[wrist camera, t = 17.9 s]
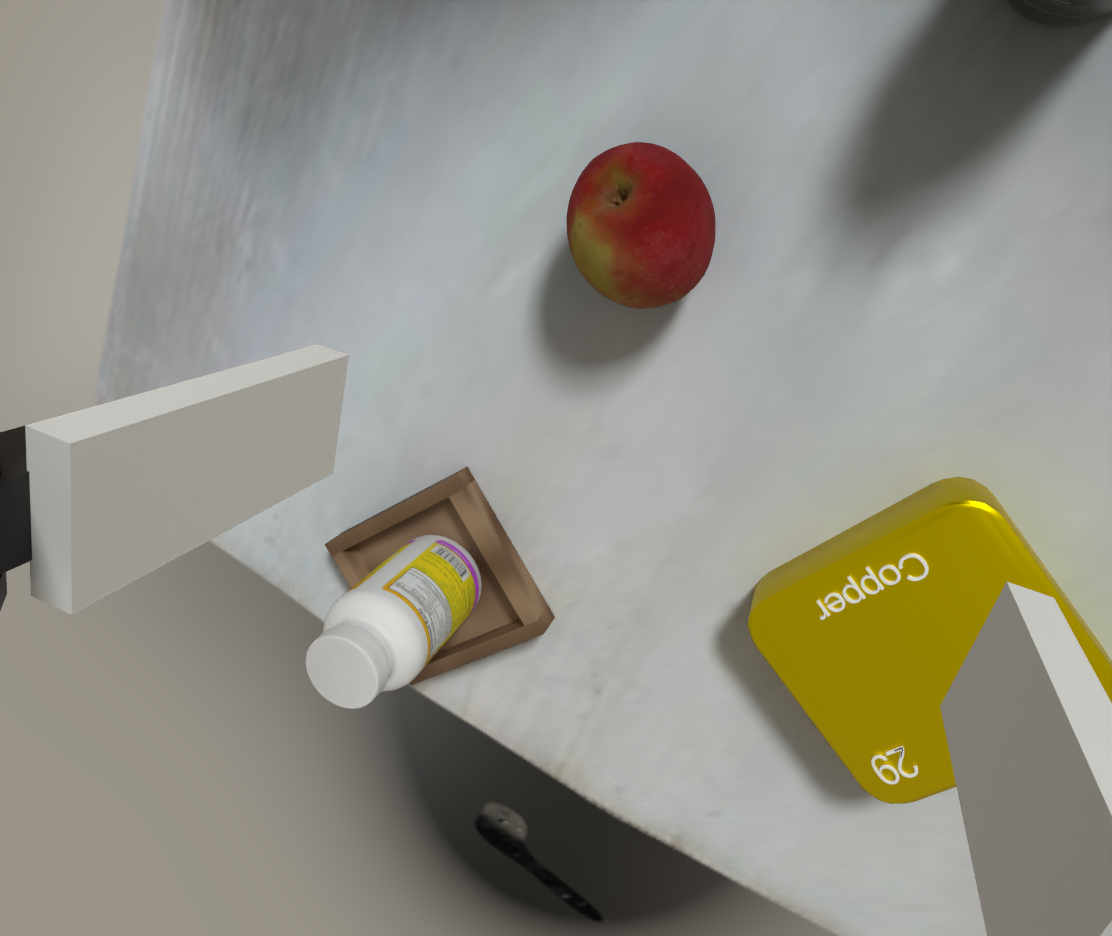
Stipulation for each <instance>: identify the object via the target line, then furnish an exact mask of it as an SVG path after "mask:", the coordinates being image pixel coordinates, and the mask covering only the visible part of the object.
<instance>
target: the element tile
mask: <svg viewBox="0 0 1112 936" xmlns="http://www.w3.org/2000/svg"><path fill="white" fill-rule="evenodd" d="M1006 582H1010V583H1012V584H1015V585H1018V586H1021V587H1024V588H1027V589H1030V590H1033V591H1036V592H1039V593H1041V594H1044V595H1047V596H1050V597H1053V598H1054V599H1055V601H1056V603H1057V604H1058V606H1059V608H1060V610H1061V612H1062V614H1063V615H1064V617H1065V619H1066V621H1067V623H1068V625H1069V626H1070V628H1071V630H1072V632H1073V634H1074V635H1075V637H1076V639H1077V641H1078V643H1079V645H1080V646H1081V648H1082V650H1083V652H1084V654H1085V656H1086V657H1087V659H1088V661H1089V663H1090V665H1091V667H1092V668H1093V670H1094V672H1095V674H1096V676H1097V677H1098V679H1099V681H1100V683H1101V685H1102V687H1103V688H1104V690H1105V692H1106V694H1107V696H1108V698H1109V699H1110V701H1111V703H1112V661H1111V660H1110V658H1109V656H1108V654H1107V653H1106V651H1105V650H1104V648H1103V647H1102V645H1101V644H1100V643H1099V641H1098V640H1097V638H1096V637H1095V636H1094V634H1093V633H1092V631H1091V630H1090V629H1089V627H1088V626H1087V624H1086V623H1085V622H1084V620H1083V619H1082V617H1081V616H1080V615H1079V613H1078V612H1077V611H1076V609H1075V608H1074V606H1073V605H1072V604H1071V602H1070V601H1069V599H1068V598H1067V597H1066V595H1065V594H1064V592H1063V591H1062V590H1061V588H1060V587H1059V585H1058V584H1057V583H1056V581H1055V580H1054V578H1053V577H1052V576H1051V574H1050V573H1049V571H1048V570H1047V569H1046V567H1045V566H1044V564H1043V563H1042V562H1041V560H1040V559H1039V557H1038V556H1037V555H1036V553H1035V552H1034V550H1033V549H1032V548H1031V546H1030V545H1029V543H1028V542H1027V541H1026V539H1025V538H1024V536H1023V535H1022V534H1021V532H1020V531H1019V529H1018V528H1017V527H1016V525H1015V524H1014V523H1013V521H1012V520H1011V518H1010V517H1009V516H1008V514H1007V513H1006V511H1005V510H1004V509H1003V507H1002V506H1001V504H1000V503H999V502H998V500H997V499H996V497H995V496H994V495H993V494H992V493H991V492H990V491H989V490H988V489H987V488H986V487H985V486H983V485H982V484H980V483H978V482H976V481H975V480H973V479H968V478H962V477H955V478H948V479H943V480H940V481H938V482H935V483H932V484H930V485H929V486H927V487H925V488H923V489H921V490H919V491H918V492H916V493H914V494H912V495H910V496H908V497H907V498H905V499H903V500H901V501H899V502H897V503H895V504H894V505H892V506H890V507H888V508H886V509H884V510H883V511H881V512H879V513H877V514H875V515H873V516H872V517H870V518H868V519H866V520H864V521H862V522H861V523H859V524H857V525H855V526H853V527H851V528H850V529H848V530H846V531H844V532H842V533H840V534H838V535H837V536H835V537H833V538H831V539H829V540H827V541H826V542H824V543H822V544H820V545H818V546H816V547H815V548H813V549H811V550H809V551H807V552H805V553H804V554H802V555H800V556H798V557H796V558H794V559H792V560H791V561H789V562H787V563H785V564H783V565H781V566H780V567H778V568H776V569H774V570H772V571H770V572H769V573H767V574H766V575H765V576H764V577H762V578H761V580H760V581H759V582H758V584H757V585H756V587H755V591H754V595H753V600H752V605H751V609H750V614H749V619H748V628H749V632H750V636H751V638H752V640H753V642H754V644H755V645H756V647H757V648H758V649H759V651H760V652H761V653H762V655H763V656H764V657H765V659H766V660H767V661H768V663H769V664H770V665H771V667H772V668H773V669H774V671H775V672H776V673H777V675H778V676H779V677H780V679H781V680H782V681H783V683H784V684H785V685H786V687H787V688H788V689H789V691H790V692H791V693H792V695H793V696H794V697H795V699H796V700H797V702H798V703H799V704H800V706H801V707H802V708H803V710H804V711H805V712H806V714H807V715H808V716H809V718H810V719H811V720H812V722H813V723H814V724H815V726H816V727H817V728H818V730H819V731H820V732H821V734H822V735H823V736H824V738H825V739H826V740H827V742H828V743H829V744H830V746H831V747H832V748H833V750H834V751H835V752H836V754H837V755H838V756H839V758H840V759H841V760H842V762H843V763H844V764H845V766H846V767H847V768H848V770H849V771H850V772H851V774H852V775H853V776H854V778H855V779H856V780H857V782H858V783H859V784H860V786H861V787H862V788H863V789H864V790H865V791H866V792H867V793H869V794H870V795H872V796H873V797H875V798H876V799H878V800H880V801H884V802H887V803H891V804H905V803H910V802H915V801H918V800H920V799H923V798H926V797H929V796H931V795H934V794H937V793H940V792H943V791H945V790H948V789H951V788H954V787H957V786H956V781H955V776H954V771H953V766H952V762H951V757H950V752H949V747H948V742H947V737H946V732H945V728H944V723H943V718H942V713H941V708H940V705H941V703H942V702H943V700H944V698H945V696H946V694H947V692H948V690H949V689H950V687H951V685H952V683H953V681H954V679H955V677H956V675H957V674H958V672H959V670H960V668H961V666H962V664H963V662H964V661H965V659H966V657H967V655H968V653H969V651H970V649H971V647H972V646H973V644H974V642H975V640H976V638H977V636H978V634H979V633H980V631H981V629H982V627H983V625H984V623H985V621H986V620H987V618H988V616H989V614H990V612H991V610H992V608H993V606H994V605H995V603H996V601H997V599H998V597H999V595H1000V593H1001V592H1002V590H1003V588H1004V586H1005V584H1006Z"/></svg>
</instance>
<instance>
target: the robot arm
mask: <svg viewBox="0 0 1112 936" xmlns="http://www.w3.org/2000/svg"><path fill="white" fill-rule="evenodd" d="M348 356H349V355H347V354H344V353H341V352H338V351H335V350H333V349H330V348H327V347H324V346H321V345H318V344H316V345H313V346H309V347H305V348H302V349H298V350H295V351H291V352H287V353H284V354H280V355H277V356H273V357H269V358H266V359H262V360H259V361H255V362H251V363H248V364H244V365H241V366H237V367H233V368H230V369H226V370H223V371H219V372H215V373H212V374H208V375H205V376H201V377H197V378H194V379H190V380H187V381H183V382H179V383H176V384H172V385H169V386H165V387H161V388H158V389H154V390H151V391H147V392H143V393H140V394H136V395H133V396H129V397H125V398H122V399H118V400H115V401H111V402H107V403H104V404H100V405H97V406H93V407H89V408H86V409H82V410H79V411H75V412H72V413H68V414H64V415H61V416H57V417H53V418H50V419H47V420H43V421H39V422H35V423H32V424H28V425H25V426H22V427H18V428H15V429H11V430H8V431H4V432H0V610H1V607H2V605H3V602H4V600H5V597H6V595H7V583H6V571H8V570H11V569H13V568H15V567H18V566H20V565H22V564H24V563H26V562H28V561H30V576H31V596H33V597H35V598H37V599H39V600H41V601H44V602H46V603H48V604H50V605H52V606H54V607H56V608H58V609H61V610H63V611H65V612H67V613H69V614H71V615H73V614H74V613H76V612H78V611H80V610H82V609H84V608H85V607H87V606H89V605H91V604H93V603H95V602H96V601H98V600H100V599H102V598H104V597H106V596H107V595H109V594H111V593H113V592H115V591H117V590H119V589H120V588H122V587H124V586H126V585H128V584H130V583H131V582H133V581H135V580H137V579H139V578H141V577H143V576H144V575H146V574H148V573H150V572H152V571H154V570H155V569H157V568H159V567H161V566H162V565H164V564H166V563H168V562H170V561H172V560H174V559H175V558H178V557H179V556H181V555H183V554H185V553H187V552H188V551H190V550H192V549H194V548H196V547H198V546H200V545H201V544H203V543H205V542H207V541H209V540H211V539H213V538H214V537H216V536H218V535H220V534H222V533H224V532H225V531H227V530H229V529H231V528H233V527H235V526H236V525H238V524H240V523H242V522H244V521H246V520H248V519H249V518H251V517H253V516H255V515H257V514H259V513H260V512H262V511H264V510H266V509H268V508H270V507H271V506H273V505H275V504H277V503H279V502H281V501H283V500H284V499H286V498H288V497H290V496H292V495H294V494H295V493H297V492H299V491H301V490H303V489H305V488H306V487H308V486H310V485H312V484H314V483H316V482H318V481H319V480H321V479H323V478H325V477H327V476H329V475H330V474H332V473H333V468H334V461H335V453H336V446H337V438H338V431H339V424H340V416H341V409H342V401H343V394H344V386H345V379H346V371H347V364H348ZM940 708H941V713H942V718H943V723H944V728H945V732H946V737H947V742H948V747H949V752H950V757H951V762H952V766H953V771H954V776H955V781H956V786H957V791H958V796H959V800H960V805H961V810H962V815H963V820H964V825H965V830H966V835H967V839H968V844H969V849H970V854H971V859H972V864H973V869H974V873H975V878H976V883H977V888H978V893H979V898H980V903H981V907H982V912H983V917H984V922H985V927H986V932H987V936H1112V703H1111V701H1110V699H1109V698H1108V696H1107V694H1106V692H1105V690H1104V688H1103V687H1102V685H1101V683H1100V681H1099V679H1098V677H1097V676H1096V674H1095V672H1094V670H1093V668H1092V667H1091V665H1090V663H1089V661H1088V659H1087V657H1086V656H1085V654H1084V652H1083V650H1082V648H1081V646H1080V645H1079V643H1078V641H1077V639H1076V637H1075V635H1074V634H1073V632H1072V630H1071V628H1070V626H1069V625H1068V623H1067V621H1066V619H1065V617H1064V615H1063V614H1062V612H1061V610H1060V608H1059V606H1058V604H1057V603H1056V601H1055V599H1054V598H1053V597H1050V596H1047V595H1044V594H1041V593H1039V592H1036V591H1033V590H1030V589H1027V588H1024V587H1021V586H1018V585H1015V584H1012V583H1010V582H1006V584H1005V586H1004V588H1003V590H1002V592H1001V593H1000V595H999V597H998V599H997V601H996V603H995V605H994V606H993V608H992V610H991V612H990V614H989V616H988V618H987V620H986V621H985V623H984V625H983V627H982V629H981V631H980V633H979V634H978V636H977V638H976V640H975V642H974V644H973V646H972V647H971V649H970V651H969V653H968V655H967V657H966V659H965V661H964V662H963V664H962V666H961V668H960V670H959V672H958V674H957V675H956V677H955V679H954V681H953V683H952V685H951V687H950V689H949V690H948V692H947V694H946V696H945V698H944V700H943V702H942V703H941V705H940Z"/></svg>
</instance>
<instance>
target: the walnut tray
mask: <svg viewBox="0 0 1112 936" xmlns="http://www.w3.org/2000/svg"><path fill="white" fill-rule="evenodd" d="M423 535H439V536H443V537H446V538H449V539H451V540H453V541H455V542H457V543H458V544H459V545H461V546H462V547H463V548H464V549H465V550H466V551H467V552H468V553H469V554H470V555H471V556H472V558H473V559H474V561H475V563H476V565H477V567H478V570H479V573H480V576H481V582H482V589H481V595H480V598H479V601H478V603H477V605H476V607H475V608H474V610H473V611H472V612H471V613H470V615H469V616H468V617H467V618H466V619H465V620H464V622H463V623H462V624H461V625H460V626H459V627H458V629H457V630H456V631H455V632H454V633H453V634H452V636H451V637H450V638H449V639H448V640H447V641H446V642H445V644H444V645H443V646H442V647H441V648H440V649H439V651H438V652H437V653H436V654H435V655H434V656H433V658H432V659H431V660H430V661H429V662H428V663H427V665H426V666H425V667H424V668H423V669H422V671H421V672H420V673H419V674H418V675H417V676H416V677H415V678H414V679H413V680H412V681H411V682H410V684H411V685H412V684H415V683H417V682H420V681H423V680H425V679H428V678H430V677H433V676H436V675H438V674H441V673H443V672H446V671H449V670H451V669H454V668H456V667H459V666H462V665H464V664H467V663H469V662H472V661H475V660H477V659H480V658H482V657H485V656H487V655H490V654H493V653H495V652H498V651H500V650H503V649H506V648H508V647H511V646H513V645H516V644H519V643H521V642H524V641H526V640H529V639H532V638H534V637H537V636H539V635H542V634H544V633H545V631H546V630H547V628H548V627H549V625H550V624H551V622H552V621H553V619H554V618H555V617H554V615H553V613H552V611H551V610H550V608H549V606H548V605H547V603H546V601H545V599H544V598H543V596H542V594H541V592H540V591H539V589H538V587H537V586H536V584H535V582H534V580H533V579H532V577H531V575H530V574H529V572H528V570H527V568H526V567H525V565H524V563H523V562H522V560H521V558H520V556H519V555H518V553H517V551H516V549H515V548H514V546H513V544H512V543H511V541H510V539H509V537H508V536H507V534H506V532H505V531H504V529H503V527H502V525H501V524H500V522H499V520H498V519H497V517H496V515H495V513H494V512H493V510H492V508H491V506H490V505H489V503H488V501H487V500H486V498H485V496H484V494H483V493H482V491H481V489H480V488H479V486H478V484H477V482H476V481H475V479H474V477H473V476H472V474H471V472H470V470H469V469H468V467H466V468H464V469H462V470H460V471H458V472H457V473H455V474H453V475H451V476H449V477H447V478H445V479H443V480H441V481H439V482H438V483H436V484H434V485H432V486H430V487H428V488H426V489H424V490H422V491H420V492H418V493H417V494H415V495H413V496H411V497H409V498H407V499H405V500H403V501H401V502H399V503H397V504H396V505H394V506H392V507H390V508H388V509H386V510H384V511H382V512H380V513H378V514H377V515H375V516H373V517H371V518H369V519H367V520H365V521H363V522H361V523H359V524H357V525H356V526H354V527H352V528H350V529H348V530H346V531H344V532H342V533H341V534H339V535H338V536H336V537H335V538H333V539H332V540H330V541H329V542H328V543H326V544H325V546H326V548H327V549H328V551H329V552H330V554H331V556H332V557H333V559H334V561H335V562H336V564H337V565H338V567H339V569H340V570H341V572H342V574H343V575H344V577H345V578H346V580H347V582H348V583H349V585H350V587H351V588H352V587H353V586H355V585H356V584H357V583H358V582H360V581H361V580H362V579H363V578H365V577H366V576H367V575H368V574H369V573H371V572H372V571H373V570H374V569H375V568H377V567H378V566H379V565H380V564H382V563H383V562H384V561H385V560H387V559H388V558H389V557H390V556H391V555H393V554H394V553H395V552H396V551H397V550H399V549H400V548H401V547H402V546H404V545H405V544H406V543H408V542H409V541H411V540H412V539H414V538H417V537H420V536H423Z"/></svg>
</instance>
